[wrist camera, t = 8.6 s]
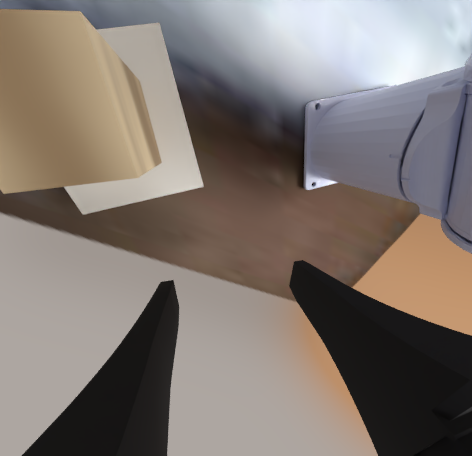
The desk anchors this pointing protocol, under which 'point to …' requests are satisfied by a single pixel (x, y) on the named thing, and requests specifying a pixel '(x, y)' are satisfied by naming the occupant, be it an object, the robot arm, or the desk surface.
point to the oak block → (67, 105)
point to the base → (162, 119)
